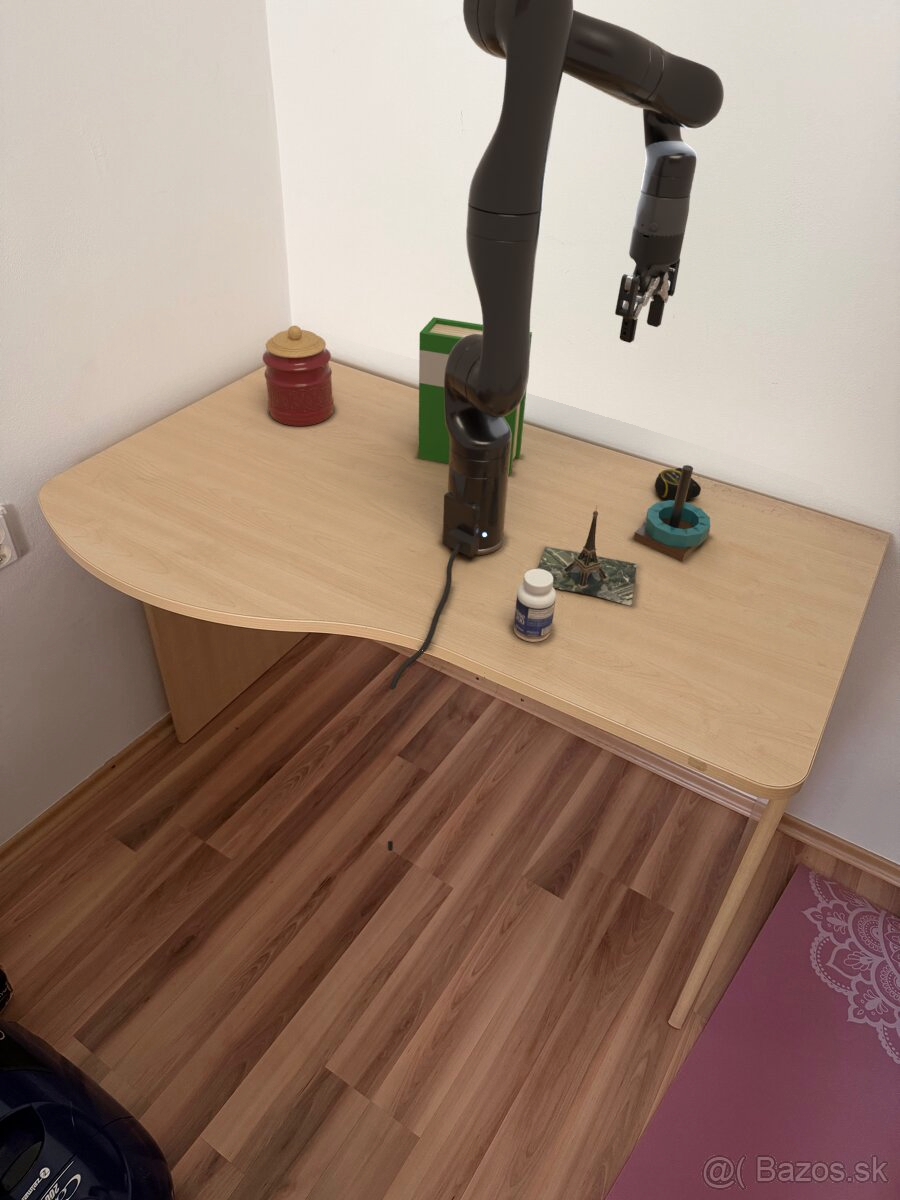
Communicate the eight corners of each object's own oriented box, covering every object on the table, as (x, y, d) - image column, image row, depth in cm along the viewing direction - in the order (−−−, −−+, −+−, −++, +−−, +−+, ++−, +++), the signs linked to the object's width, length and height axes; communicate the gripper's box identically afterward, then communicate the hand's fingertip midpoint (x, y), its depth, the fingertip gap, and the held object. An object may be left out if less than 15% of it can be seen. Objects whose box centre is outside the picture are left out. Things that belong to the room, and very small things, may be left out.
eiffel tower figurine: (638, 566, 132) (654, 494, 124) (631, 605, 125) (647, 532, 116) (545, 548, 135) (554, 477, 127) (532, 586, 128) (541, 513, 119)
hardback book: (520, 456, 157) (532, 332, 142) (510, 475, 152) (521, 348, 137) (431, 439, 161) (433, 317, 146) (418, 458, 156) (419, 332, 140)
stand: (682, 561, 134) (701, 489, 125) (633, 539, 138) (648, 468, 129) (707, 537, 139) (727, 466, 130) (659, 516, 143) (675, 447, 135)
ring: (687, 555, 132) (690, 542, 131) (633, 529, 137) (636, 517, 136) (717, 529, 138) (721, 517, 137) (664, 505, 143) (667, 493, 142)
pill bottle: (510, 618, 122) (516, 565, 115) (547, 617, 122) (554, 564, 116) (516, 644, 117) (522, 590, 111) (553, 642, 118) (561, 589, 112)
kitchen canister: (305, 434, 161) (297, 346, 150) (255, 415, 167) (244, 328, 155) (347, 408, 170) (343, 323, 159) (298, 391, 175) (291, 308, 164)
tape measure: (699, 502, 147) (704, 484, 145) (665, 508, 145) (669, 489, 143) (680, 482, 152) (684, 464, 150) (646, 487, 150) (650, 469, 148)
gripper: (660, 210, 128) (641, 314, 139) (612, 230, 120) (595, 339, 130) (705, 220, 125) (682, 327, 135) (658, 241, 116) (638, 353, 127)
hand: (640, 333), depth 133 cm, fingers open, 8 cm apart
